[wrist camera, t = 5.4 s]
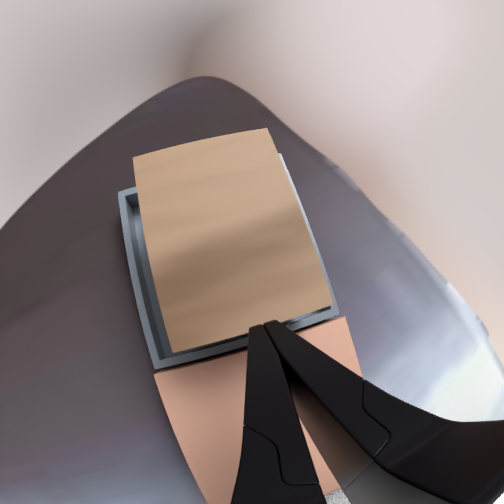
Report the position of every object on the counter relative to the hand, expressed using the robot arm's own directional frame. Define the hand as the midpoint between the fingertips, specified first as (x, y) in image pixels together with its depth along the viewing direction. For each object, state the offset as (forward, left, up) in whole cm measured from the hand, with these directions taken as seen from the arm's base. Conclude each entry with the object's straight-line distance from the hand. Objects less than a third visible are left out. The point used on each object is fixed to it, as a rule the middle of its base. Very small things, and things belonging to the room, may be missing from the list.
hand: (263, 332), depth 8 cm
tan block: (0, 0, -4) cm, 4 cm away
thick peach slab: (-5, +3, -8) cm, 10 cm away
